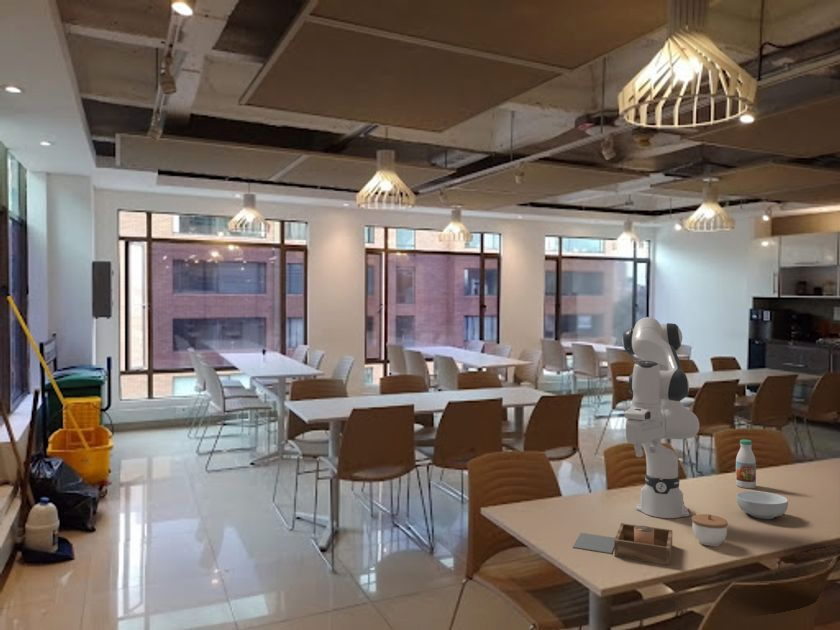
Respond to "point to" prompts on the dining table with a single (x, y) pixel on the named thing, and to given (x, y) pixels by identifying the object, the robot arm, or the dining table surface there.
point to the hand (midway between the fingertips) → (646, 454)
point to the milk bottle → (745, 465)
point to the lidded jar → (709, 529)
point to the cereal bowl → (762, 504)
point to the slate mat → (595, 543)
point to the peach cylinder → (644, 534)
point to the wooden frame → (643, 545)
